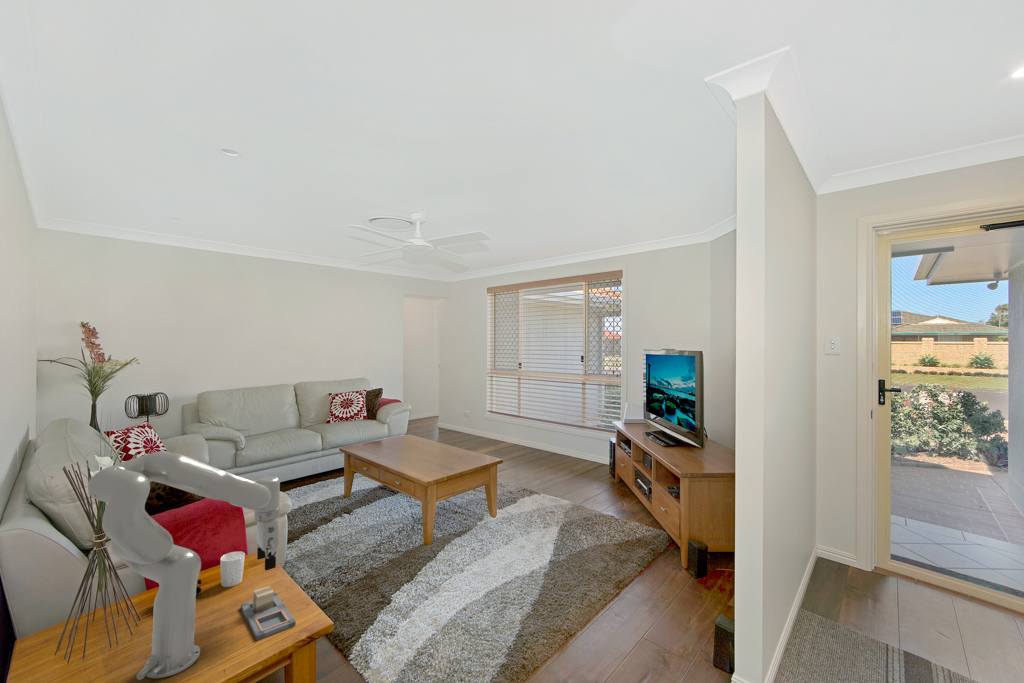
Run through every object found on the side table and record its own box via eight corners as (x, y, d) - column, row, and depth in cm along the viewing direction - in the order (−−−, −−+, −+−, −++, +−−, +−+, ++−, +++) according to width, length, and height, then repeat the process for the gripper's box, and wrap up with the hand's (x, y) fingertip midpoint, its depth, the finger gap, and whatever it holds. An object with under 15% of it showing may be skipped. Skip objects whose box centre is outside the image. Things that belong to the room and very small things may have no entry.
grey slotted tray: (295, 626, 140) (295, 620, 140) (257, 641, 132) (257, 635, 132) (275, 597, 156) (276, 592, 156) (240, 608, 148) (240, 603, 148)
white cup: (248, 578, 168) (249, 552, 168) (233, 589, 160) (234, 561, 161) (229, 576, 169) (230, 550, 169) (214, 587, 161) (215, 560, 161)
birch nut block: (273, 609, 148) (273, 591, 148) (256, 615, 144) (257, 597, 144) (269, 603, 151) (269, 585, 152) (252, 608, 148) (253, 590, 148)
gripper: (286, 518, 145) (285, 569, 145) (272, 504, 158) (271, 550, 158) (261, 524, 140) (260, 577, 140) (248, 509, 153) (247, 557, 153)
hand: (266, 563), depth 149 cm, fingers open, 9 cm apart
